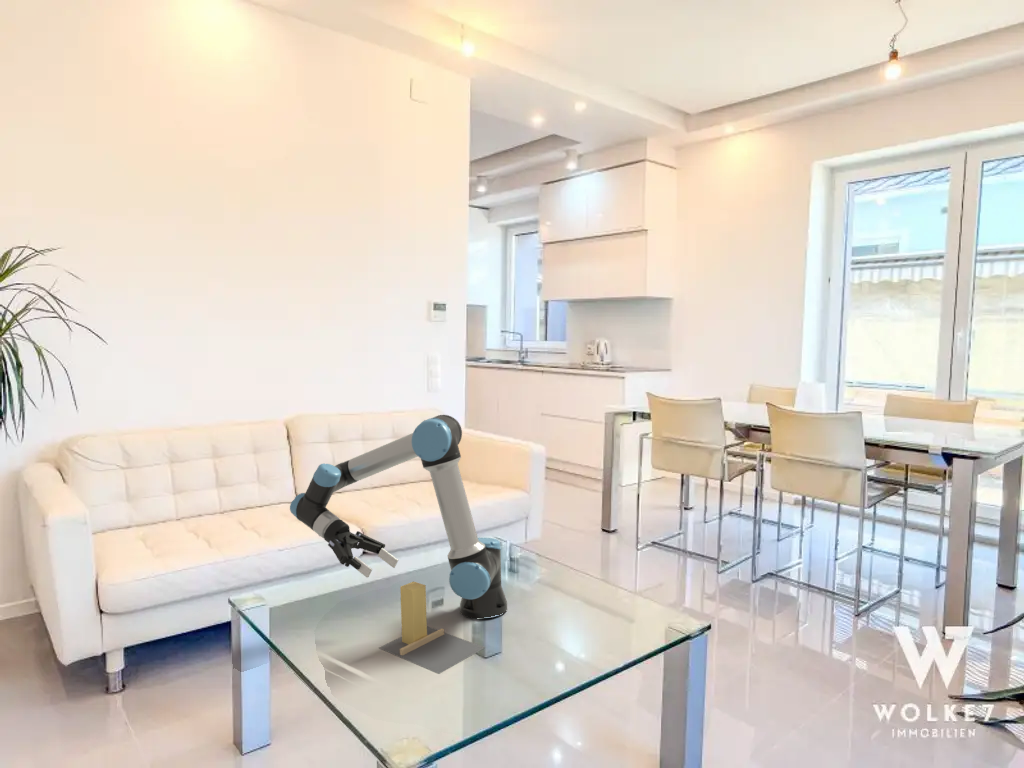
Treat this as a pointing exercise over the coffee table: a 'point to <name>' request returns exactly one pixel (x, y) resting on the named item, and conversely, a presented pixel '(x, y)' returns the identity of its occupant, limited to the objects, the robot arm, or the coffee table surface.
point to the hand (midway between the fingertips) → (383, 568)
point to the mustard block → (413, 612)
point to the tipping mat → (434, 650)
